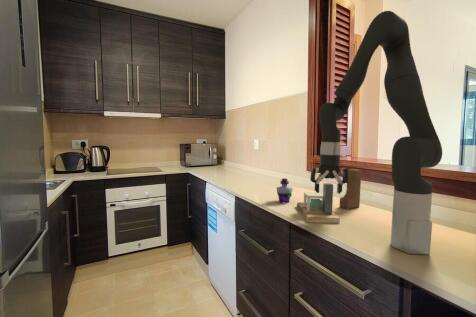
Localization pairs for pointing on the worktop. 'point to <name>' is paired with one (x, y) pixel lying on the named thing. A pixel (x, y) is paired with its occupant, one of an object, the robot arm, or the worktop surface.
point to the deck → (317, 215)
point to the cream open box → (311, 195)
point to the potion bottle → (284, 191)
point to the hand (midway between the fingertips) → (328, 192)
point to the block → (315, 203)
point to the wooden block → (352, 190)
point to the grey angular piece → (326, 199)
